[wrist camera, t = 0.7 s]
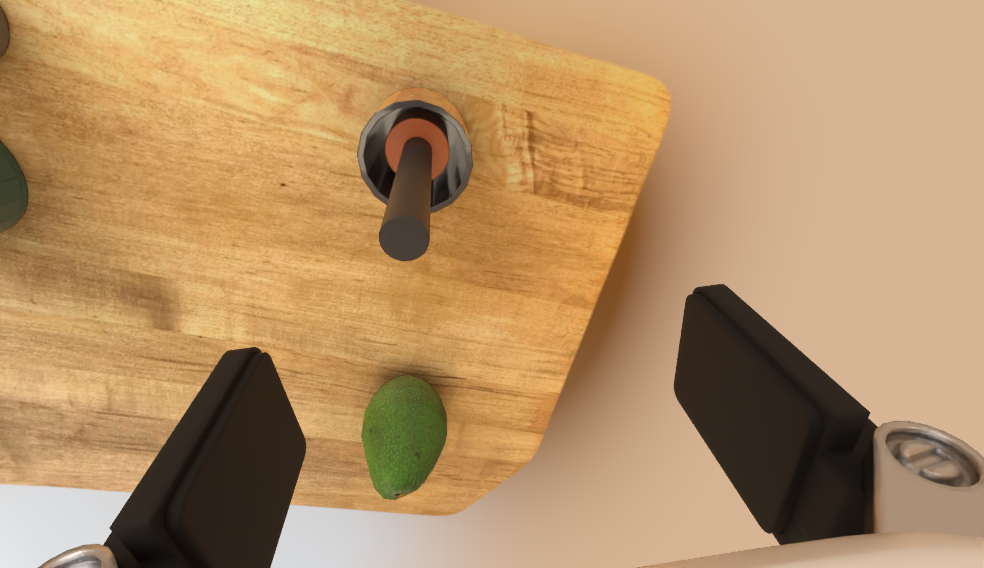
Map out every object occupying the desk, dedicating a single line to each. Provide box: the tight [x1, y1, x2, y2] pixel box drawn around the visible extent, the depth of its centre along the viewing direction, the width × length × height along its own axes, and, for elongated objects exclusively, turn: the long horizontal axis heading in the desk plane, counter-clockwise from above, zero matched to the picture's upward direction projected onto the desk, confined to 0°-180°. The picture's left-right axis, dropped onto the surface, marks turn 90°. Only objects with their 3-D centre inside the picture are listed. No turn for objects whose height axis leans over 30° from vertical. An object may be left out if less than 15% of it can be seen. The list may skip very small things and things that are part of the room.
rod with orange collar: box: [379, 109, 450, 261], centre depth 26 cm, size 4×4×19 cm
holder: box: [357, 88, 473, 213], centre depth 32 cm, size 7×7×7 cm
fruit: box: [361, 375, 447, 500], centre depth 42 cm, size 8×8×12 cm
